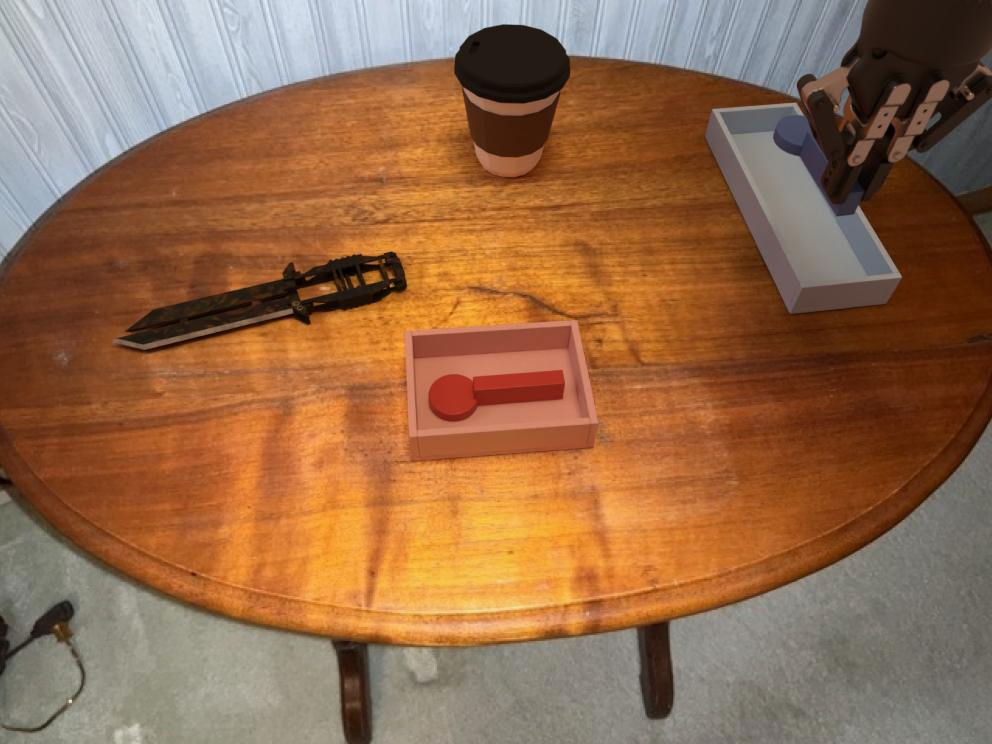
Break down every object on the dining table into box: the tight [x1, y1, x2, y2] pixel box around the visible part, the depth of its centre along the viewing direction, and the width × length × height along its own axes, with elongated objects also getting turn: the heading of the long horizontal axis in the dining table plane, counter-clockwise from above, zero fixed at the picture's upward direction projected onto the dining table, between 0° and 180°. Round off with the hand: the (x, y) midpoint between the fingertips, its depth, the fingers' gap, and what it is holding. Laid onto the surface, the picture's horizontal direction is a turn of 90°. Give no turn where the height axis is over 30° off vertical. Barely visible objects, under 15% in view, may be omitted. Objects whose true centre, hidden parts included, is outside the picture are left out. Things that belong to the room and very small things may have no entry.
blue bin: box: [704, 102, 903, 315], centre depth 79 cm, size 25×9×4 cm, turn 9°
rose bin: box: [404, 319, 600, 462], centre depth 65 cm, size 14×10×4 cm
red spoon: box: [429, 370, 565, 421], centre depth 65 cm, size 11×4×2 cm, turn 96°
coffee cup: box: [453, 23, 571, 178], centre depth 80 cm, size 11×11×12 cm
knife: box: [111, 251, 408, 351], centre depth 72 cm, size 25×6×1 cm, turn 105°
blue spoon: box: [773, 114, 865, 216], centre depth 62 cm, size 11×4×2 cm, turn 10°
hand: (846, 194), depth 59 cm, fingers closed on blue spoon, 1 cm apart
